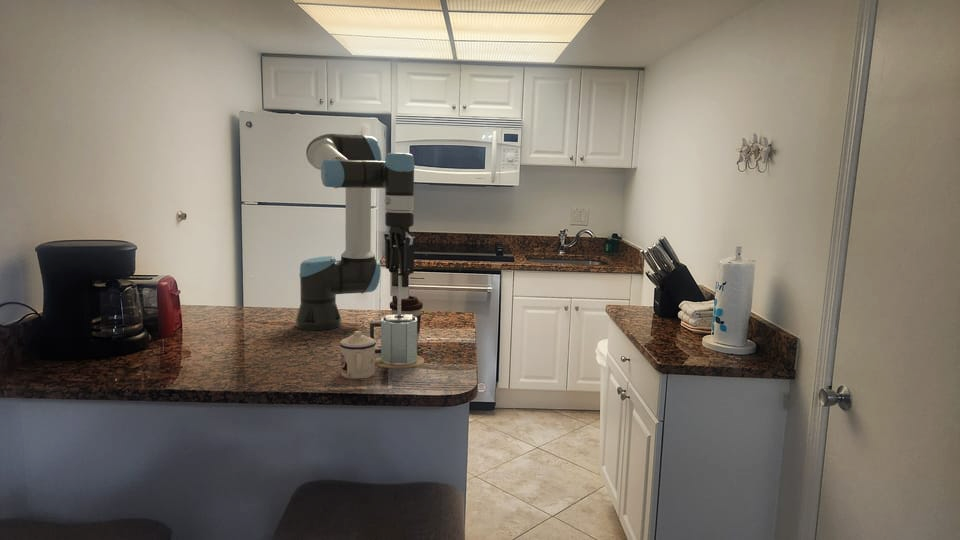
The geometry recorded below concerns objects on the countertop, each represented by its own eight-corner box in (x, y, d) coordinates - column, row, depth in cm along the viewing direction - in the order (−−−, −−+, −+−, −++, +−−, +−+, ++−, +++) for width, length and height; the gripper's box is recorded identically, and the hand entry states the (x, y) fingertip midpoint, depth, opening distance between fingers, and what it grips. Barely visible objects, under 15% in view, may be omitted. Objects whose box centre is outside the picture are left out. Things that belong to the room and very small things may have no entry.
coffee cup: (416, 351, 180) (416, 301, 177) (385, 348, 181) (384, 299, 179) (426, 342, 189) (426, 295, 187) (396, 340, 191) (396, 293, 189)
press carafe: (371, 355, 172) (371, 313, 170) (416, 355, 174) (417, 312, 172) (369, 366, 162) (369, 321, 160) (417, 365, 164) (417, 321, 162)
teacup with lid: (340, 370, 160) (339, 327, 159) (374, 368, 162) (374, 326, 161) (340, 385, 149) (339, 339, 147) (377, 383, 151) (377, 338, 149)
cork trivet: (365, 360, 170) (365, 358, 170) (408, 352, 178) (408, 350, 178) (388, 373, 159) (388, 371, 158) (433, 365, 167) (433, 362, 167)
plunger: (385, 335, 170) (385, 270, 168) (412, 334, 171) (413, 270, 169) (384, 342, 163) (384, 274, 160) (413, 342, 164) (413, 274, 161)
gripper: (372, 209, 167) (372, 293, 170) (402, 213, 153) (402, 304, 157) (396, 209, 171) (396, 290, 174) (428, 213, 157) (427, 301, 161)
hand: (399, 296), depth 165 cm, fingers closed on plunger, 4 cm apart
